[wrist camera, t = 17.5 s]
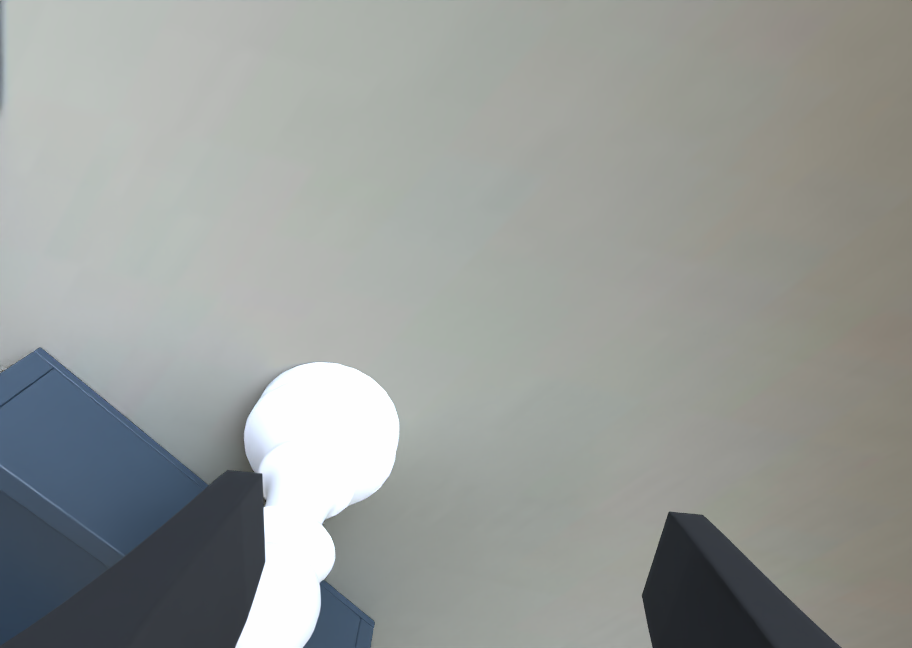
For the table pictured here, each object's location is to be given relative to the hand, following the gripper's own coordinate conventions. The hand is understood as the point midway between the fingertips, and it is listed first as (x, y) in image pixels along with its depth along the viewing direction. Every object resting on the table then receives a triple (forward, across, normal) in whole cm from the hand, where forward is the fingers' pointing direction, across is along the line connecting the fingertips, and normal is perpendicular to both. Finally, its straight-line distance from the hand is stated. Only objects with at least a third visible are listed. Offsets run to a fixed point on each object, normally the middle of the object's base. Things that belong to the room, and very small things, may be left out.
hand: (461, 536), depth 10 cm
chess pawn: (+10, +4, +4) cm, 11 cm away
